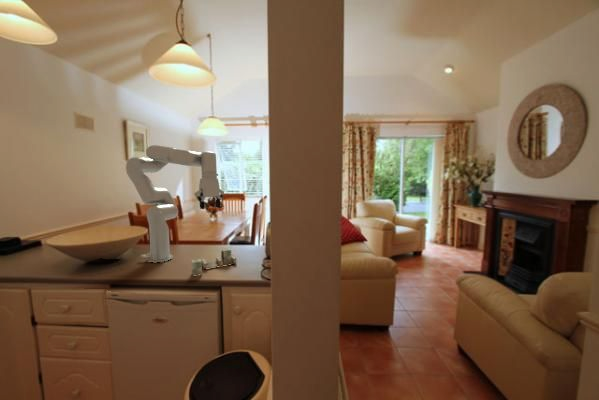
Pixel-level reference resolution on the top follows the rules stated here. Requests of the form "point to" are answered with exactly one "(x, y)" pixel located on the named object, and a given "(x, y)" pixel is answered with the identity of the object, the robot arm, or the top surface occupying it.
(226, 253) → the rail board
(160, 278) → the top surface
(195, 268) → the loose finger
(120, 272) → the top surface
